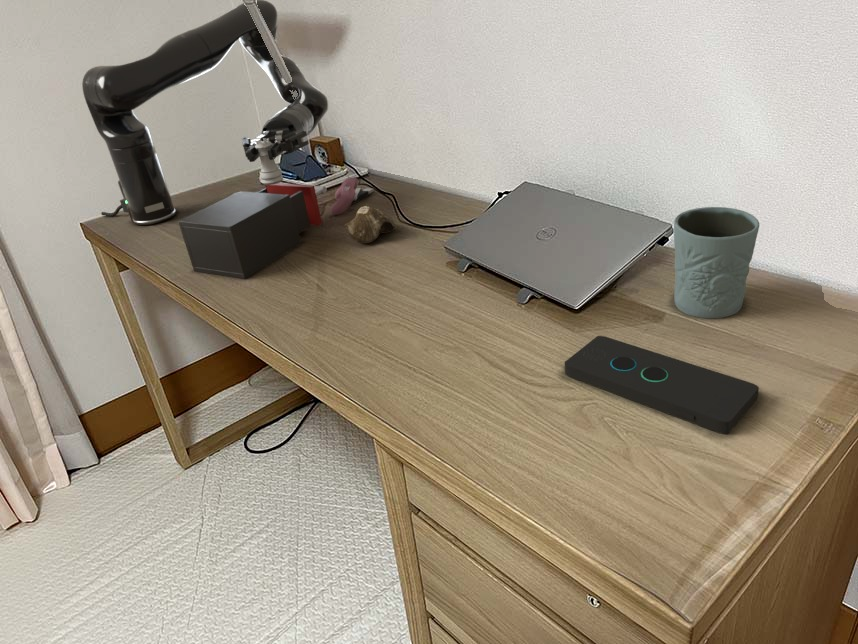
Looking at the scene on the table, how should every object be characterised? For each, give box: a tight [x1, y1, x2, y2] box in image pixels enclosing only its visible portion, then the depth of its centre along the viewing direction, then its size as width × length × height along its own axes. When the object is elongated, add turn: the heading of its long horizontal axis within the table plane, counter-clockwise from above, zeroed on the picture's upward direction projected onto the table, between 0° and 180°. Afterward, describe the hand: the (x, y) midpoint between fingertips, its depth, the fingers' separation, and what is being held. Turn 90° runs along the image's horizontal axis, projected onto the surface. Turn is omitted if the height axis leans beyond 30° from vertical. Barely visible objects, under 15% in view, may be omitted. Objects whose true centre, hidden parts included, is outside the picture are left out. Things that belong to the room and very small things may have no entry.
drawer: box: [256, 182, 328, 234], centre depth 136 cm, size 21×12×8 cm, turn 151°
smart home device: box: [564, 335, 760, 435], centre depth 79 cm, size 8×2×20 cm
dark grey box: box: [177, 190, 302, 280], centre depth 127 cm, size 16×13×10 cm
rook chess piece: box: [255, 138, 284, 186], centre depth 130 cm, size 4×4×8 cm
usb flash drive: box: [351, 187, 375, 205], centre depth 152 cm, size 9×5×1 cm, turn 147°
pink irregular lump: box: [330, 176, 359, 216], centre depth 146 cm, size 10×5×7 cm, turn 0°
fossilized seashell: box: [344, 205, 397, 244], centre depth 129 cm, size 8×7×10 cm
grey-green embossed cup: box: [673, 206, 760, 319], centre depth 91 cm, size 10×10×12 cm
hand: (260, 155), depth 127 cm, fingers closed on rook chess piece, 3 cm apart
